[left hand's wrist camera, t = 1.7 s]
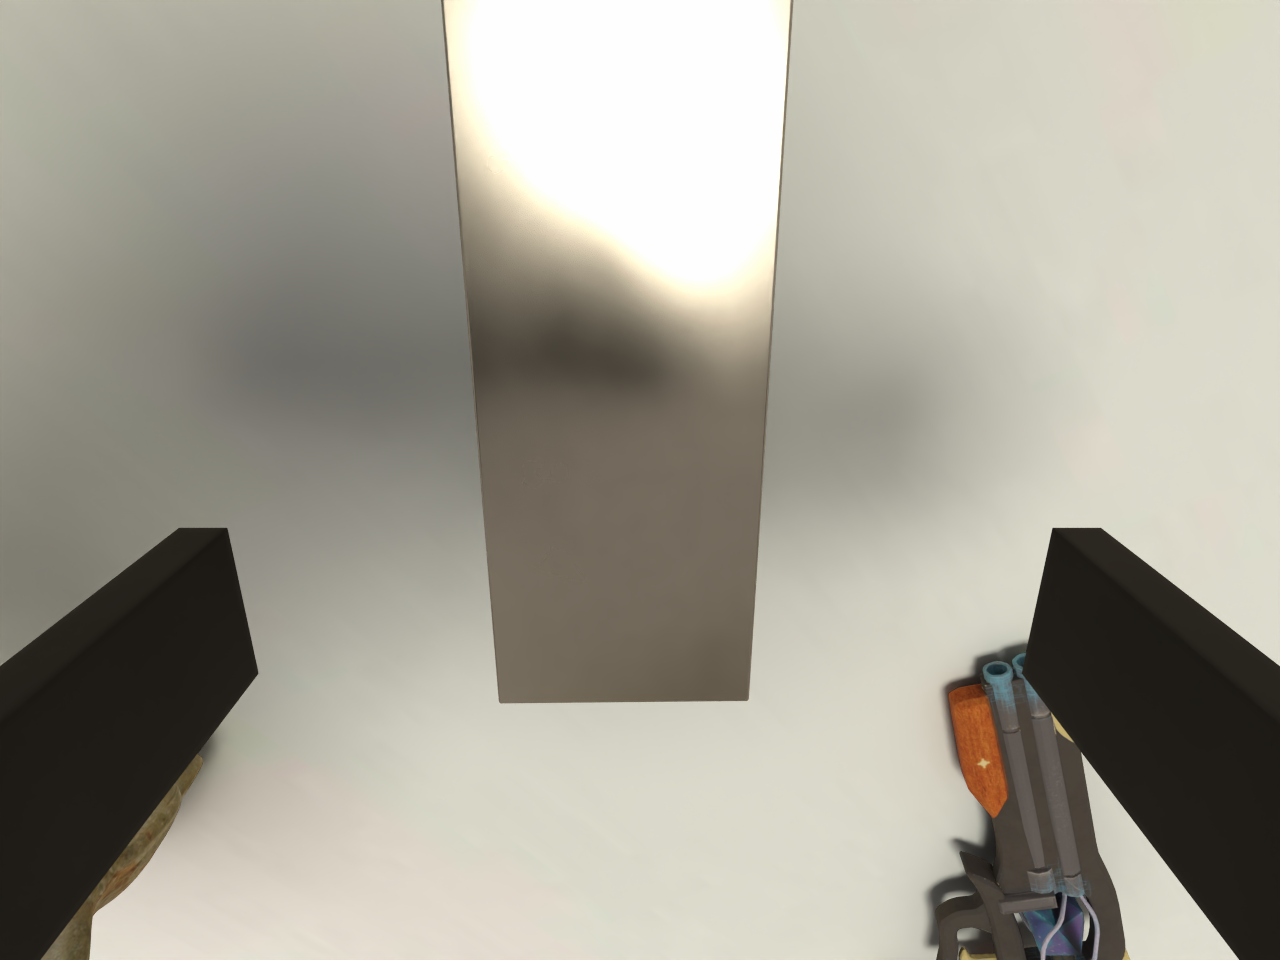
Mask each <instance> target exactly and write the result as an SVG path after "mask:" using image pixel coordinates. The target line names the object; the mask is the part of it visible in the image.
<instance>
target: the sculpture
mask: <svg viewBox="0 0 1280 960" xmlns="http://www.w3.org/2000/svg"><path fill="white" fill-rule="evenodd" d="M202 764H203V759H202V757H201V756H199V755H198V754H197V755H196V756H195V758H194V759H193V760H192V761H191V763H190V764H189V765H188V767H187V768H186V769H185V771H184V772H183V773H182V775H181V776H180V777H179V779H178V780H177V781H176V783H175V784H174V785H173V786H172V788H171V789H170V790H169V792H168V793H167V794H166V796H165V797H164V798H163V800H162V801H161V802H160V804H159V805H158V806H157V807H156V809H155V810H154V811H153V813H152V814H151V815H150V817H149V818H148V819H147V821H146V822H145V823H144V825H143V826H142V827H141V829H140V830H139V831H138V832H137V834H136V835H135V836H134V838H133V839H132V840H131V842H130V843H129V844H128V846H127V847H126V848H125V850H124V851H123V852H122V854H121V855H120V856H119V857H118V859H117V860H116V861H115V863H114V864H113V865H112V867H111V868H110V869H109V871H108V872H107V873H106V875H105V876H104V877H103V878H102V880H101V881H100V882H99V884H98V885H97V886H96V888H95V889H94V890H93V892H92V893H91V894H90V896H89V897H88V898H87V900H86V901H85V902H84V903H83V905H82V906H81V907H80V909H79V910H78V911H77V913H76V914H75V915H74V917H73V918H72V919H71V921H70V922H69V923H68V925H67V926H66V927H65V928H64V930H63V931H62V932H61V934H60V935H59V936H58V938H57V939H56V940H55V942H54V943H53V944H52V946H51V947H50V948H49V949H48V951H47V952H46V953H45V955H44V956H43V957H42V959H41V960H89V956H90V943H91V927H92V917H93V915H94V914H95V913H96V912H97V911H98V910H99V909H101V908H102V907H103V906H105V905H106V904H107V903H109V902H110V901H112V900H113V899H114V898H116V897H117V896H118V895H119V894H120V893H121V892H122V891H124V890H125V889H126V888H127V887H128V886H129V885H130V884H131V883H132V882H133V881H134V879H135V878H136V877H137V876H138V875H139V874H140V872H141V871H142V870H143V868H144V867H145V866H146V865H147V863H148V862H149V861H150V859H151V858H152V856H153V855H154V853H155V851H156V850H157V848H158V847H159V845H160V844H161V842H162V840H163V839H164V837H165V836H166V834H167V832H168V831H169V829H170V827H171V825H172V823H173V821H174V819H175V817H176V815H177V813H178V810H179V807H180V805H181V799H182V797H183V796H184V795H185V793H186V792H187V790H188V789H189V787H190V785H191V784H192V782H193V781H194V779H195V778H196V776H197V774H198V772H199V770H200V768H201V766H202Z"/></svg>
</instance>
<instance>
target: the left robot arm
mask: <svg viewBox="0 0 1280 960" xmlns="http://www.w3.org/2000/svg"><path fill="white" fill-rule="evenodd" d="M257 675H258V669H257V664H256V660H255V655H254V650H253V646H252V641H251V636H250V632H249V627H248V622H247V618H246V613H245V608H244V604H243V599H242V594H241V590H240V585H239V580H238V576H237V571H236V566H235V561H234V557H233V552H232V547H231V543H230V538H229V533H228V529H227V528H178V529H177V530H176V531H175V532H173V533H172V534H171V535H169V536H168V537H167V538H166V539H164V540H163V541H162V542H160V543H159V544H158V545H156V546H155V547H154V548H153V549H151V550H150V551H149V552H147V553H146V554H145V555H144V556H142V557H141V558H140V559H138V560H137V561H136V562H134V563H133V564H132V565H131V566H129V567H128V568H127V569H125V570H124V571H123V572H122V573H120V574H119V575H118V576H116V577H115V578H114V579H113V580H111V581H110V582H109V583H107V584H106V585H105V586H103V587H102V588H101V589H100V590H98V591H97V592H96V593H94V594H93V595H92V596H91V597H89V598H88V599H87V600H85V601H84V602H83V603H81V604H80V605H79V606H78V607H76V608H75V609H74V610H72V611H71V612H70V613H69V614H67V615H66V616H65V617H63V618H62V619H61V620H59V621H58V622H57V623H56V624H54V625H53V626H52V627H50V628H49V629H48V630H47V631H45V632H44V633H43V634H41V635H40V636H39V637H37V638H36V639H35V640H34V641H32V642H31V643H30V644H28V645H27V646H26V647H25V648H23V649H22V650H21V651H19V652H18V653H17V654H15V655H14V656H13V657H12V658H10V659H9V660H8V661H6V662H5V663H4V664H3V665H1V666H0V960H41V959H42V957H43V956H44V955H45V953H46V952H47V951H48V949H49V948H50V947H51V946H52V944H53V943H54V942H55V940H56V939H57V938H58V936H59V935H60V934H61V932H62V931H63V930H64V928H65V927H66V926H67V925H68V923H69V922H70V921H71V919H72V918H73V917H74V915H75V914H76V913H77V911H78V910H79V909H80V907H81V906H82V905H83V903H84V902H85V901H86V900H87V898H88V897H89V896H90V894H91V893H92V892H93V890H94V889H95V888H96V886H97V885H98V884H99V882H100V881H101V880H102V878H103V877H104V876H105V875H106V873H107V872H108V871H109V869H110V868H111V867H112V865H113V864H114V863H115V861H116V860H117V859H118V857H119V856H120V855H121V854H122V852H123V851H124V850H125V848H126V847H127V846H128V844H129V843H130V842H131V840H132V839H133V838H134V836H135V835H136V834H137V832H138V831H139V830H140V829H141V827H142V826H143V825H144V823H145V822H146V821H147V819H148V818H149V817H150V815H151V814H152V813H153V811H154V810H155V809H156V807H157V806H158V805H159V804H160V802H161V801H162V800H163V798H164V797H165V796H166V794H167V793H168V792H169V790H170V789H171V788H172V786H173V785H174V784H175V783H176V781H177V780H178V779H179V777H180V776H181V775H182V773H183V772H184V771H185V769H186V768H187V767H188V765H189V764H190V763H191V761H192V760H193V759H194V758H195V756H196V755H197V754H198V752H199V751H200V750H201V748H202V747H203V746H204V744H205V743H206V742H207V740H208V739H209V738H210V736H211V735H212V734H213V733H214V731H215V730H216V729H217V727H218V726H219V725H220V723H221V722H222V721H223V719H224V718H225V717H226V715H227V714H228V713H229V712H230V710H231V709H232V708H233V706H234V705H235V704H236V702H237V701H238V700H239V698H240V697H241V696H242V694H243V693H244V692H245V690H246V689H247V688H248V687H249V685H250V684H251V683H252V681H253V680H254V679H255V677H256V676H257ZM1022 675H1023V676H1024V677H1025V679H1026V680H1027V681H1028V683H1029V684H1030V685H1031V687H1032V688H1033V689H1034V690H1035V692H1036V693H1037V694H1038V696H1039V697H1040V698H1041V700H1042V701H1043V702H1044V704H1045V705H1046V706H1047V708H1048V709H1049V710H1050V712H1051V713H1052V714H1053V715H1054V717H1055V718H1056V719H1057V721H1058V722H1059V723H1060V725H1061V726H1062V727H1063V729H1064V730H1065V731H1066V733H1067V734H1068V735H1069V736H1070V738H1071V739H1072V740H1073V742H1074V743H1075V744H1076V746H1077V747H1078V748H1079V750H1080V751H1081V752H1082V754H1083V755H1084V756H1085V758H1086V759H1087V760H1088V761H1089V763H1090V764H1091V765H1092V767H1093V768H1094V769H1095V771H1096V772H1097V773H1098V775H1099V776H1100V777H1101V779H1102V780H1103V781H1104V783H1105V784H1106V785H1107V786H1108V788H1109V789H1110V790H1111V792H1112V793H1113V794H1114V796H1115V797H1116V798H1117V800H1118V801H1119V802H1120V804H1121V805H1122V806H1123V807H1124V809H1125V810H1126V811H1127V813H1128V814H1129V815H1130V817H1131V818H1132V819H1133V821H1134V822H1135V823H1136V825H1137V826H1138V827H1139V829H1140V830H1141V831H1142V832H1143V834H1144V835H1145V836H1146V838H1147V839H1148V840H1149V842H1150V843H1151V844H1152V846H1153V847H1154V848H1155V850H1156V851H1157V852H1158V854H1159V855H1160V856H1161V857H1162V859H1163V860H1164V861H1165V863H1166V864H1167V865H1168V867H1169V868H1170V869H1171V871H1172V872H1173V873H1174V875H1175V876H1176V877H1177V878H1178V880H1179V881H1180V882H1181V884H1182V885H1183V886H1184V888H1185V889H1186V890H1187V892H1188V893H1189V894H1190V896H1191V897H1192V898H1193V900H1194V901H1195V902H1196V903H1197V905H1198V906H1199V907H1200V909H1201V910H1202V911H1203V913H1204V914H1205V915H1206V917H1207V918H1208V919H1209V921H1210V922H1211V923H1212V925H1213V926H1214V927H1215V928H1216V930H1217V931H1218V932H1219V934H1220V935H1221V936H1222V938H1223V939H1224V940H1225V942H1226V943H1227V944H1228V946H1229V947H1230V948H1231V949H1232V951H1233V952H1234V953H1235V955H1236V956H1237V957H1238V959H1239V960H1280V666H1279V665H1277V664H1276V663H1275V662H1274V661H1272V660H1271V659H1270V658H1268V657H1267V656H1266V655H1265V654H1263V653H1262V652H1261V651H1259V650H1258V649H1257V648H1255V647H1254V646H1253V645H1252V644H1250V643H1249V642H1248V641H1246V640H1245V639H1244V638H1243V637H1241V636H1240V635H1239V634H1237V633H1236V632H1235V631H1233V630H1232V629H1231V628H1230V627H1228V626H1227V625H1226V624H1224V623H1223V622H1222V621H1221V620H1219V619H1218V618H1217V617H1215V616H1214V615H1213V614H1211V613H1210V612H1209V611H1208V610H1206V609H1205V608H1204V607H1202V606H1201V605H1200V604H1199V603H1197V602H1196V601H1195V600H1193V599H1192V598H1191V597H1189V596H1188V595H1187V594H1186V593H1184V592H1183V591H1182V590H1180V589H1179V588H1178V587H1177V586H1175V585H1174V584H1173V583H1171V582H1170V581H1169V580H1167V579H1166V578H1165V577H1164V576H1162V575H1161V574H1160V573H1158V572H1157V571H1156V570H1155V569H1153V568H1152V567H1151V566H1149V565H1148V564H1147V563H1146V562H1144V561H1143V560H1142V559H1140V558H1139V557H1138V556H1136V555H1135V554H1134V553H1133V552H1131V551H1130V550H1129V549H1127V548H1126V547H1125V546H1124V545H1122V544H1121V543H1120V542H1118V541H1117V540H1116V539H1114V538H1113V537H1112V536H1111V535H1109V534H1108V533H1107V532H1105V531H1104V530H1103V529H1102V528H1053V529H1052V533H1051V538H1050V543H1049V547H1048V552H1047V557H1046V561H1045V566H1044V571H1043V576H1042V580H1041V585H1040V590H1039V594H1038V599H1037V604H1036V608H1035V613H1034V618H1033V622H1032V627H1031V632H1030V636H1029V641H1028V646H1027V650H1026V655H1025V660H1024V664H1023V669H1022Z"/></svg>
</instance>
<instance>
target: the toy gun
mask: <svg viewBox="0 0 1280 960" xmlns="http://www.w3.org/2000/svg"><path fill="white" fill-rule="evenodd" d="M1025 655H1026V653H1022V654H1019V655H1016V656H1015V657H1014V658H1013V659H1012V664H1013V667H1011V666H1010V665H1009V664H1008V663H1005V662H1002V661H994V662H990V663H988V664H986V665H985V666H984V667H983V674H979V675H980V680H981V684H975V685H970V686H965V687H959V688H957V689H955V690H953V691H951V692H950V693H949V703H950V709H951V715H952V722H953V728H954V733H955V739H956V744H957V749H958V754H959V760H960V765H961V770H962V773H963V776H964V779H965V781H966V784H967V786H968V789H969V790H970V792H971V793H972V794H973V795H974V796H975V798H976V799H977V800H978V801H979V802H980V804H981V805H982V806H983V807H984V808H985V809H986V811H987V812H988V813H989V814H990V815H991V819H992V824H993V828H994V833H995V839H996V856H995V861H994V865H993V866H992V865H991V864H990V863H988V862H987V861H985V860H983V859H981V858H978V857H976V856H974V855H971V854H968V853H966V852H962V851H960V856H961V859H962V862H963V865H964V868H965V871H966V874H967V876H968V878H969V879H970V880H971V882H972V883H973V884H974V886H975V887H976V888H977V890H978V891H977V892H976V893H975V894H973V895H970V896H962V897H955V898H952V899H949V900H947V901H945V902H944V903H942V904H941V905H940V906H938V908H937V909H936V912H935V915H936V919H937V923H938V928H939V949H938V954H937V959H936V960H957V956H959V960H1130V958H1129V956H1128V953H1127V951H1126V948H1125V938H1124V932H1123V926H1122V920H1121V914H1120V908H1119V903H1118V899H1117V895H1116V891H1115V888H1114V885H1113V883H1112V880H1111V878H1110V875H1109V873H1108V871H1107V869H1106V867H1105V865H1104V863H1103V861H1102V859H1101V857H1100V855H1099V853H1098V848H1097V844H1096V838H1095V833H1094V827H1093V821H1092V815H1091V809H1090V803H1089V797H1088V791H1087V786H1086V780H1085V774H1084V768H1083V762H1082V756H1081V751H1080V750H1079V748H1078V747H1077V746H1076V744H1075V743H1074V742H1073V740H1072V739H1071V738H1070V736H1069V735H1068V734H1067V733H1066V731H1065V730H1064V729H1063V727H1062V726H1061V725H1060V723H1059V722H1058V721H1057V719H1056V718H1055V717H1054V715H1053V714H1052V713H1051V712H1050V710H1049V709H1048V708H1047V706H1046V705H1045V704H1044V702H1043V701H1042V700H1041V698H1040V697H1039V696H1038V694H1037V693H1036V692H1035V690H1034V689H1033V688H1032V687H1031V685H1030V684H1029V683H1028V681H1027V680H1026V679H1025V677H1024V676H1023V675H1022V669H1023V664H1024V660H1025ZM1084 894H1085V895H1086V899H1087V900H1086V899H1085V897H1084V896H1083V895H1084ZM1074 897H1080V899H1081V901H1082V902H1083V903H1084V905H1085V906H1086V908H1087V909H1088V910H1089V916H1090V928H1089V934H1088V937H1087V939H1086V941H1082V940H1083V930H1084V917H1083V912H1082V910H1081V908H1080V906H1079V905H1078V903H1077V901H1076V899H1075V898H1074ZM1023 912H1024V913H1023ZM1014 913H1019V914H1020V916H1021V918H1022V920H1023V922H1024V923H1025V925H1026V926H1027V928H1028V929H1029V930H1030V932H1031V933H1032V934H1033V937H1034V939H1035V942H1036V944H1037V946H1038V947H1030V948H1024V946H1023V942H1022V937H1021V934H1020V930H1019V927H1018V924H1017V921H1016V919H1015V916H1014ZM1024 914H1025V916H1024ZM969 927H973V928H978V929H981V930H984V931H986V932H989V933H991V936H992V941H993V945H994V953H992V954H969V953H968V952H967V950H966V948H965V947H964V946H963V947H961V949H960V951H959V955H958V940H957V931H958V930H959V929H961V928H969Z"/></svg>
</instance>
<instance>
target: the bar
mask: <svg viewBox="0 0 1280 960" xmlns="http://www.w3.org/2000/svg"><path fill="white" fill-rule="evenodd" d="M441 6H442V18H443V30H444V42H445V54H446V66H447V78H448V91H449V103H450V115H451V127H452V139H453V151H454V163H455V175H456V187H457V200H458V212H459V224H460V236H461V248H462V260H463V272H464V284H465V296H466V308H467V321H468V333H469V345H470V357H471V369H472V381H473V393H474V405H475V417H476V430H477V442H478V454H479V466H480V478H481V490H482V502H483V514H484V526H485V538H486V551H487V563H488V575H489V587H490V599H491V611H492V623H493V635H494V647H495V659H496V672H497V684H498V696H499V702H500V703H574V702H675V701H747V700H748V699H749V687H750V671H751V656H752V640H753V624H754V608H755V593H756V577H757V561H758V546H759V530H760V514H761V499H762V483H763V467H764V452H765V436H766V420H767V405H768V389H769V373H770V358H771V342H772V326H773V311H774V295H775V279H776V264H777V248H778V232H779V217H780V201H781V185H782V170H783V154H784V138H785V123H786V107H787V91H788V76H789V60H790V44H791V29H792V13H793V0H441Z"/></svg>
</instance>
